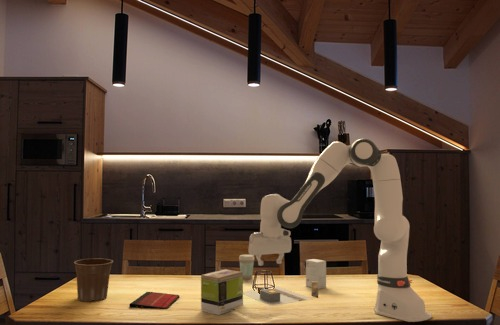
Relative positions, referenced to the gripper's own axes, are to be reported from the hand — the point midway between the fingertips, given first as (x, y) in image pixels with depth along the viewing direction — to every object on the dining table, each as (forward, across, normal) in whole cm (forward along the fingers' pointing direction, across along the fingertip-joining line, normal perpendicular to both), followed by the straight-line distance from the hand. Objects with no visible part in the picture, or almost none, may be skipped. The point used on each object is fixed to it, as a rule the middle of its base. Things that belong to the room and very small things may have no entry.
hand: (269, 264), depth 197 cm
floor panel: (+16, +6, +5) cm, 18 cm away
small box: (+17, +37, +14) cm, 43 cm away
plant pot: (+17, -63, +45) cm, 79 cm away
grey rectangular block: (+15, 0, 0) cm, 15 cm away
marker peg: (+16, +23, -2) cm, 28 cm away
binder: (+18, -41, +26) cm, 51 cm away
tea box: (+17, -22, +2) cm, 28 cm away
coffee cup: (+17, +18, +48) cm, 54 cm away
